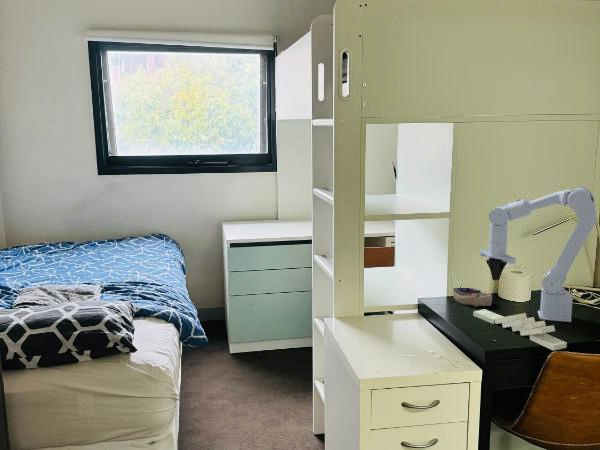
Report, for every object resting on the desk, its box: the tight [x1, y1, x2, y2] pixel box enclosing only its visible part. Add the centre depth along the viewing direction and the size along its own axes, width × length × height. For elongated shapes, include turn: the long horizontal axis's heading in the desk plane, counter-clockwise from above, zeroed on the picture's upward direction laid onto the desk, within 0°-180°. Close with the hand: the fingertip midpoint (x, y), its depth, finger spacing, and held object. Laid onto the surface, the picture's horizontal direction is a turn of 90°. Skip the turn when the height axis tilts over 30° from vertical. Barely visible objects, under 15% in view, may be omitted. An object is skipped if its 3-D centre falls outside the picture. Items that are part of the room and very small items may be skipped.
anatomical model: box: [452, 287, 493, 307], centre depth 201 cm, size 12×16×5 cm
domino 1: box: [472, 308, 504, 325], centre depth 183 cm, size 2×5×9 cm
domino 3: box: [501, 316, 536, 329], centre depth 172 cm, size 2×5×9 cm
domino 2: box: [494, 312, 528, 325], centre depth 175 cm, size 2×5×9 cm
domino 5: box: [519, 325, 556, 336], centre depth 165 cm, size 2×5×9 cm
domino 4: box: [511, 320, 547, 332], centre depth 169 cm, size 2×5×9 cm
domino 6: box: [529, 333, 568, 351], centre depth 162 cm, size 2×5×9 cm
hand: (495, 279), depth 191 cm, fingers closed
